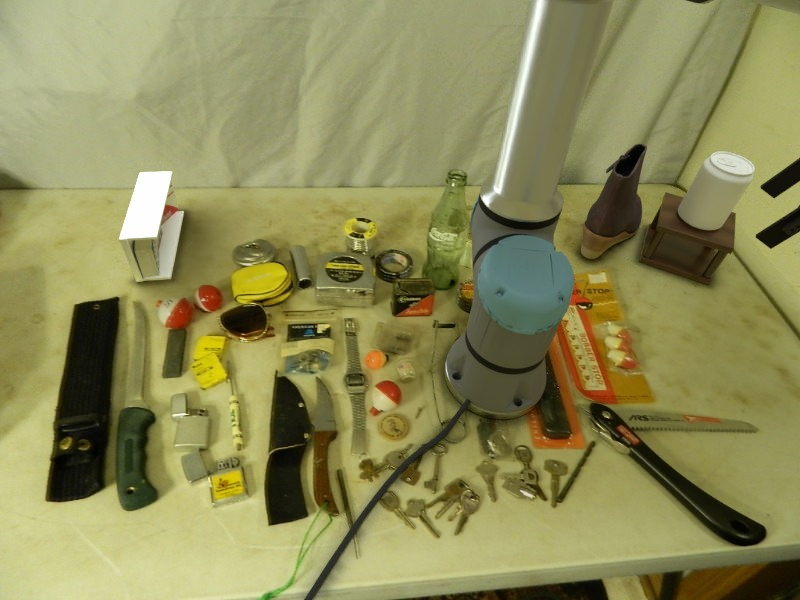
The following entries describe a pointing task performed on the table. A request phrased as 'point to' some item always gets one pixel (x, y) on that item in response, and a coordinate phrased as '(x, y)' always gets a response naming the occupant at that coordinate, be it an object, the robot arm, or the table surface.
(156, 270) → the cigarette display
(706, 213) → the beverage can
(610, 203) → the boot
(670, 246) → the rack
